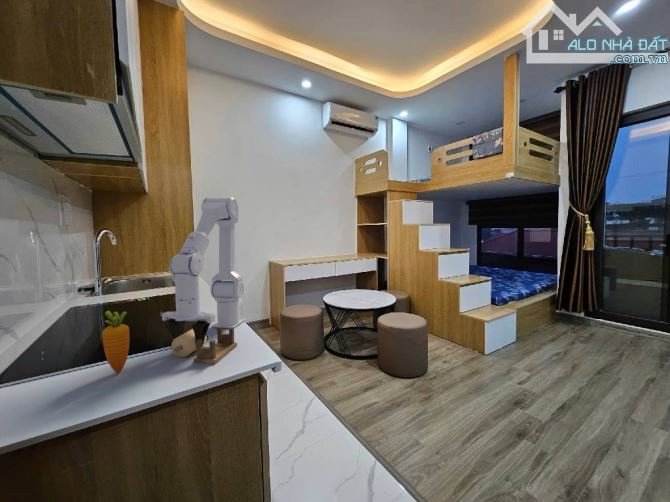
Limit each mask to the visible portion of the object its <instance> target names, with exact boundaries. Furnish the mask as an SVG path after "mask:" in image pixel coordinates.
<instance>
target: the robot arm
mask: <svg viewBox="0 0 670 502" xmlns="http://www.w3.org/2000/svg"><path fill="white" fill-rule="evenodd" d="M200 206H201V207H200V208H201V212H202V214H201V216H200V219H199V221H198V224H197V227H196V228H195V231H191V232H190V233H189V234H188V235H187V238H186V240H185V241H184V243H183V246H182V247H181V249H180V250H179V253H177V254H175V255H173V256H172V257H171V258H170V261H169V265H168V271H169V272H170V274H171V278H172V281H173V282H174V288H175V289H174V290H175V292H174V294H175V311H166V312H162V313H161V320H162V321H165V322H166V321H168V322H167V323H165V325H164V326H165V328H166V329H167V330H168V331H169V334H170V335H171V336H172V339H173V340H174V339H175V338H177V337H179V336H181V335H182V334H184V333H185V332H184V331H185V325H186V322H195V323H194V324H192V325H191V329H193V331H194V334H195V342H196V341H197V340H198V339H200V340H202V347H204V345H205V344H204V339H205V336H206V337H207V332H208V330H209V327H210V326H211V324H212V323H214V324H213V325H212V326H211V328H218V327H222V329H223V328H224V329H229V328H231V327H232V328H234V329H235V328H236V327H237V326H239V325H240V324H242V323H244V322H245V321H246V320H247V319H246V318H244V302H243V300H242V299H241V298H242V296H243V295H244V293H245V286H244V283H243V277H242V276H241V275H240V274H239V273H238V272H236V271H235V270H236V269H235V268H236V267H235V255H236V254H235V246H236V245H235V242H236V224H237V223H239V205H238V202H237V200H236V199H235V197H234V196H230V197H207V196H206V197H205V198H203V200H202V203H201V205H200ZM215 225H217V226H218V228H219V230H218V231H219V233H218V234H219V235H218V239H219V240H218V272H217V273H216V274H215V275H213V277H212V278H211V285H210V290H209V292H210V294H211V295H210V296H211V297H212V298H213V299H214V301H216V314H215V313H209V312H204V311H201V304H200V302H201V301H200V299H201V298H200V278H199V277H200V276H199V275H200V274H201V272H202V271H203V269H204V259H205V256H204V254H205V253H206V251H207V249H208V247H209V244H210V239H209V237H208V236H209V235H210V233H212V230H213V228H214V227H215ZM216 319H217V321H216ZM241 319H242V320H243V321H242V320H241ZM215 322H216V323H215ZM203 344H204V345H203Z"/></svg>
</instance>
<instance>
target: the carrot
mask: <svg viewBox="0 0 670 502" xmlns="http://www.w3.org/2000/svg"><path fill="white" fill-rule="evenodd" d="M120 314H121V315H120ZM120 314H119V313H118V312H117V311H114V312H113V313H112V312H111V311H110V310H107V311H105V313H104V315H105V316H106V317H107V318H108V319H106V320H105V321H104V322H105V323H106V324H107V325H108V324H109V325H108V326H107V327H105V328H104V329H103V330H102V333H101V337H102V338H101V339H102V346H103V351H104V354H105V358H106V361H107V363H108V364H109V366H110V368H111V369H112V370H113V371H114V372H115V373H117V374H119V373H121V372H122V370H123V369H124V367H125V364H126V362H127V359H128V356H129V350H130V327H129V326H128V324H127V325H126V324H124V323H122V322H123V320H124V318H125V316H126V315H127V314H128V312H126V311H123V312H122V313H120Z"/></svg>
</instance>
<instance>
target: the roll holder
mask: <svg viewBox="0 0 670 502" xmlns="http://www.w3.org/2000/svg"><path fill="white" fill-rule="evenodd" d="M216 330H217V331H216V332H217V333H216V336H217V337H216V338H217V341H216V340H212V339H211V340H210V341H209V342H208V343H209V346H202V340H200V339H198V340H197V341H196V350H195V351H196V356H195V357H193V363H199V364H209V365H210V364H212V365H216V364H218V363H219V362H220V361H221V360H222V359H224V358H225V357H226V356H227V355H228V354H230V353H231V352H232V351H233V350H234V349H236V348H237V347H236V346H238V342H235V328H232V327H231V328H228V333H226V332H225V333H224V332H223V328H222V327H216ZM230 351H231V352H230Z"/></svg>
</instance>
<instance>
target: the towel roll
mask: <svg viewBox="0 0 670 502" xmlns="http://www.w3.org/2000/svg"><path fill="white" fill-rule="evenodd" d="M207 339H208V338H207V335H206V336H205V339H204V344H203V346H204V345H205V343H206V341H207ZM170 346H171V351H172V353H173V354H174V355H175V356H176V357H178V358H185V357H187V356H189V355H191V354H192V353H193V352H195V351H196V342H195V334H194V331H193V328H191V329H189V330H188V331H186V332H184V334H182V335H181V336H179V337H177V338H175V339H173V340H172V342H171V345H170Z"/></svg>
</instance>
